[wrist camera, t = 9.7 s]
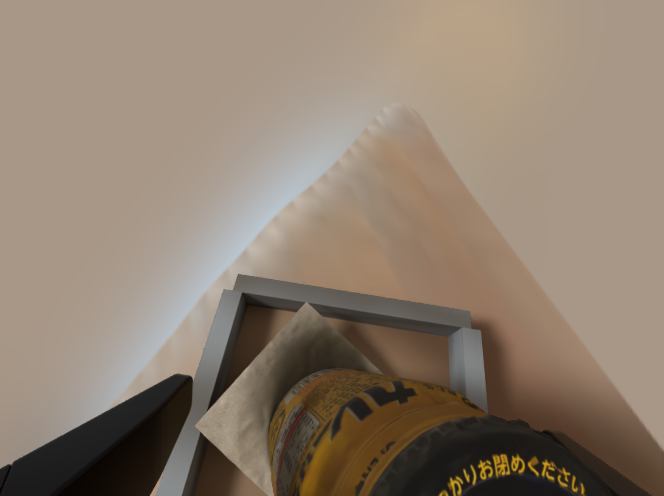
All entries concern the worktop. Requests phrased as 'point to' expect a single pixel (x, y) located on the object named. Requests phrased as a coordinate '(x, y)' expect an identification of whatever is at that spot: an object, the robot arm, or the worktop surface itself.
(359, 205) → the worktop surface
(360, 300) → the grey square frame
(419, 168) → the worktop surface
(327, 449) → the condiment
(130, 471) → the robot arm
